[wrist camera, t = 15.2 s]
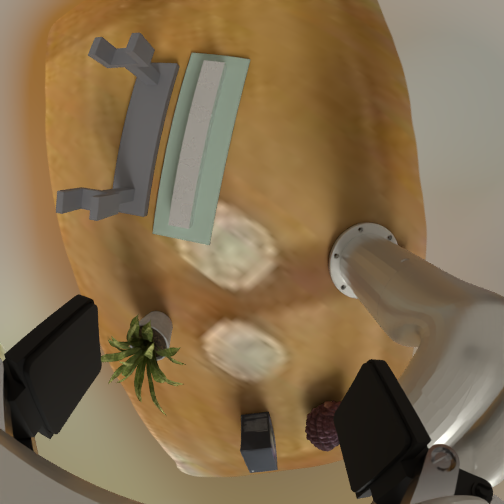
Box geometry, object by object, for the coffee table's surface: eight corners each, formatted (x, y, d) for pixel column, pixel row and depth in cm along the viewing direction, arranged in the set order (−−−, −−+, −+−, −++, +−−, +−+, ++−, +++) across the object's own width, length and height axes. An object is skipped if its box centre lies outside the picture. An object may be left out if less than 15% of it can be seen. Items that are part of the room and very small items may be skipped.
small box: (276, 436, 54) (279, 470, 44) (249, 439, 54) (248, 473, 44) (270, 410, 51) (272, 448, 41) (240, 414, 51) (238, 451, 41)
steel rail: (226, 70, 33) (224, 62, 30) (193, 225, 40) (188, 228, 37) (207, 67, 33) (203, 60, 30) (173, 221, 39) (168, 224, 36)
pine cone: (336, 431, 54) (345, 461, 44) (296, 435, 54) (301, 467, 44) (353, 382, 49) (367, 415, 39) (306, 386, 49) (315, 423, 39)
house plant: (220, 339, 46) (209, 408, 30) (165, 369, 48) (140, 431, 32) (167, 275, 42) (128, 328, 27) (115, 314, 44) (71, 366, 29)
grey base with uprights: (179, 66, 33) (145, 19, 18) (147, 215, 40) (95, 237, 25) (144, 65, 33) (100, 25, 18) (114, 209, 39) (55, 228, 24)
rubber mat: (250, 60, 33) (250, 59, 33) (209, 244, 41) (209, 245, 40) (192, 54, 33) (191, 52, 32) (153, 232, 40) (152, 233, 40)
